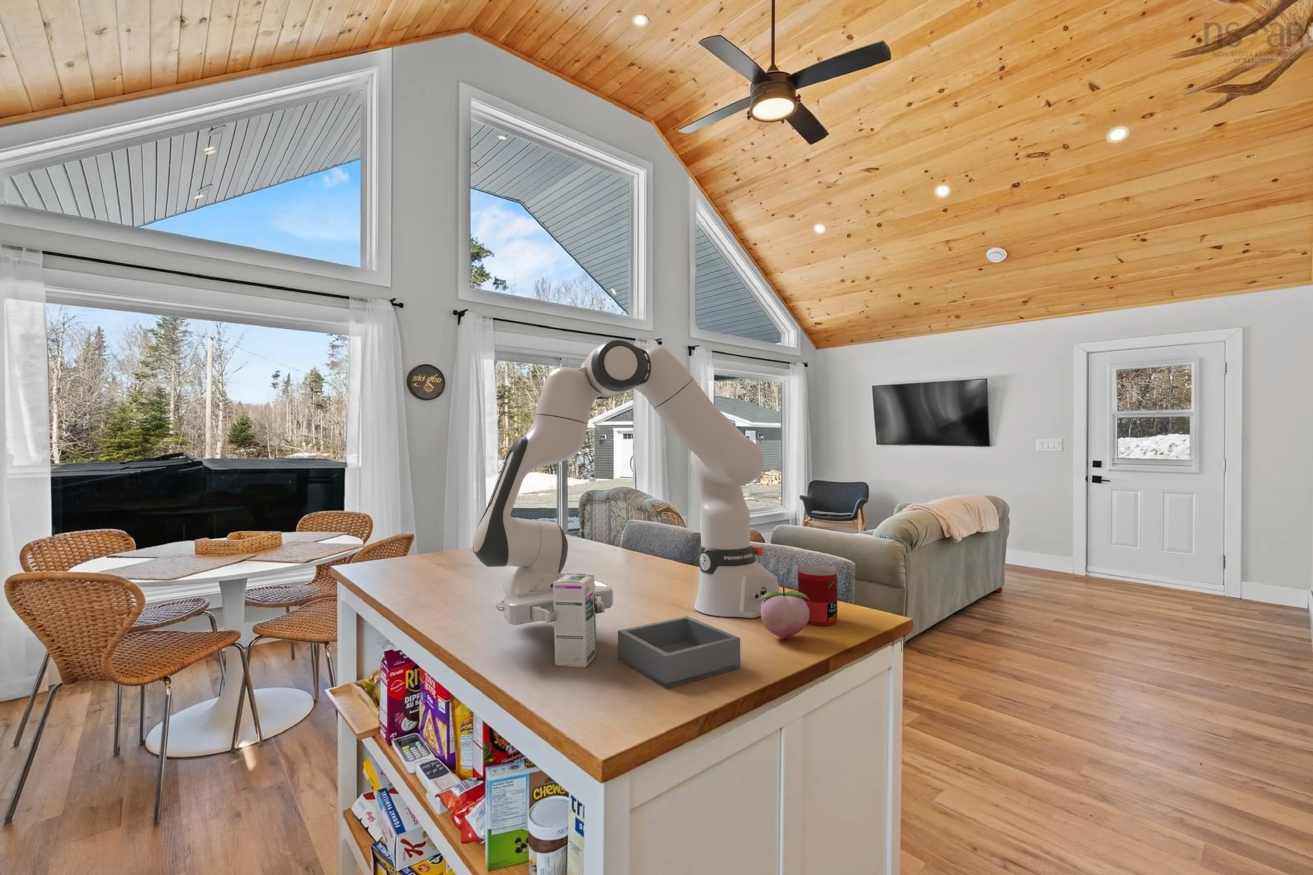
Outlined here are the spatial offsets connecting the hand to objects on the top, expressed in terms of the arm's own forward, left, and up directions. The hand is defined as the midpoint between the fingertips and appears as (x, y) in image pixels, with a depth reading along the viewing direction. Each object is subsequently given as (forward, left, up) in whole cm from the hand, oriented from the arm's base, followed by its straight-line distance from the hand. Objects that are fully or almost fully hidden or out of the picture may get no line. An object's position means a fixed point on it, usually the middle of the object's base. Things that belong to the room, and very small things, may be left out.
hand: (577, 613), depth 103 cm
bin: (-14, +10, -9) cm, 19 cm away
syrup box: (0, -1, -9) cm, 9 cm away
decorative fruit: (-38, +11, -9) cm, 41 cm away
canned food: (-52, +7, -9) cm, 53 cm away
